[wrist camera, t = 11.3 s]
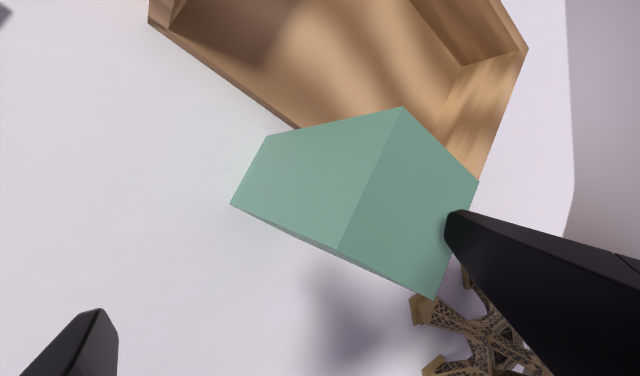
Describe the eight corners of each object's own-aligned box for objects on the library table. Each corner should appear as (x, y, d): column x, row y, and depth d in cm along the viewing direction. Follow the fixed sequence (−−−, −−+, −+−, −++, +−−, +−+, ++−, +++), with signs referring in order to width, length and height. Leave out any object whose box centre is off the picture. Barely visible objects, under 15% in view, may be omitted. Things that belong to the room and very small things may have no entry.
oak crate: (401, 206, 27) (464, 216, 22) (147, 23, 16) (152, -43, 11) (460, 68, 30) (528, 48, 25) (277, -164, 19) (329, -284, 14)
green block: (291, 235, 22) (433, 300, 11) (228, 204, 19) (336, 249, 9) (322, 173, 22) (479, 181, 12) (266, 136, 20) (402, 106, 10)
